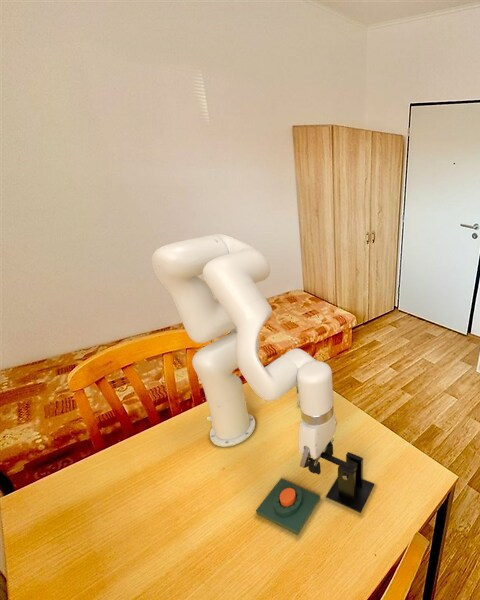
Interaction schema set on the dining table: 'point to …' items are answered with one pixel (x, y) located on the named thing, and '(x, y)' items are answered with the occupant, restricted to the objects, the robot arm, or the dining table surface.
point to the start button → (287, 497)
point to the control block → (292, 515)
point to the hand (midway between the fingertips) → (321, 461)
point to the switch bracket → (351, 486)
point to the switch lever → (348, 464)
